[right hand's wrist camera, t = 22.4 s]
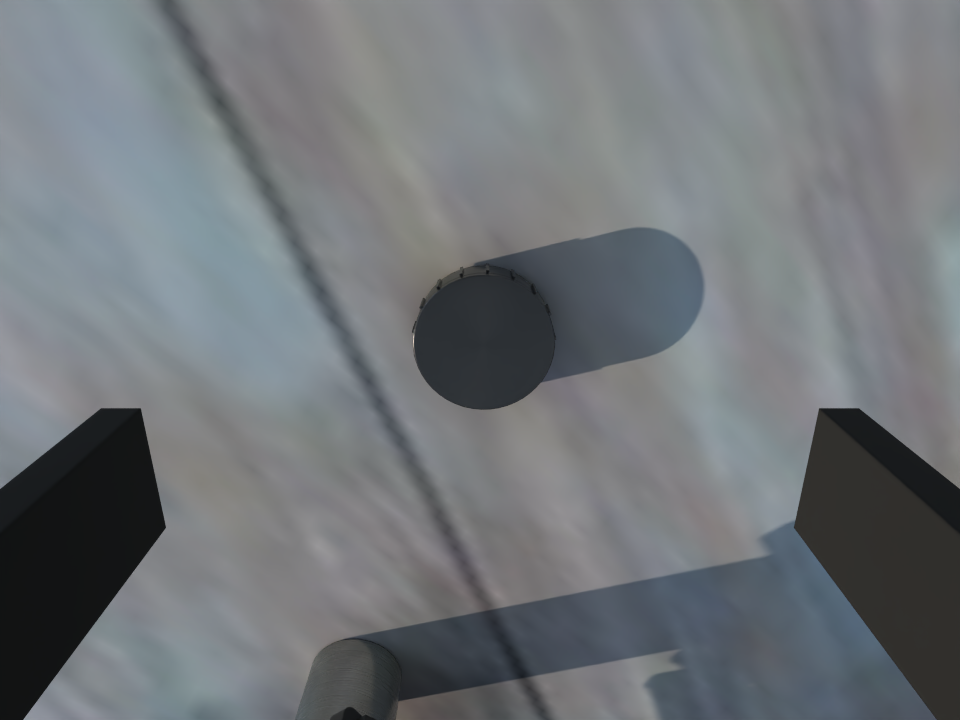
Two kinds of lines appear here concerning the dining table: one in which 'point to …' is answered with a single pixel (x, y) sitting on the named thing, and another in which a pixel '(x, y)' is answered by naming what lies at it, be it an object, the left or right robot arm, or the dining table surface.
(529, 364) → the lid
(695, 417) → the dining table surface
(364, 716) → the left robot arm
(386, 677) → the dark grey cylinder
